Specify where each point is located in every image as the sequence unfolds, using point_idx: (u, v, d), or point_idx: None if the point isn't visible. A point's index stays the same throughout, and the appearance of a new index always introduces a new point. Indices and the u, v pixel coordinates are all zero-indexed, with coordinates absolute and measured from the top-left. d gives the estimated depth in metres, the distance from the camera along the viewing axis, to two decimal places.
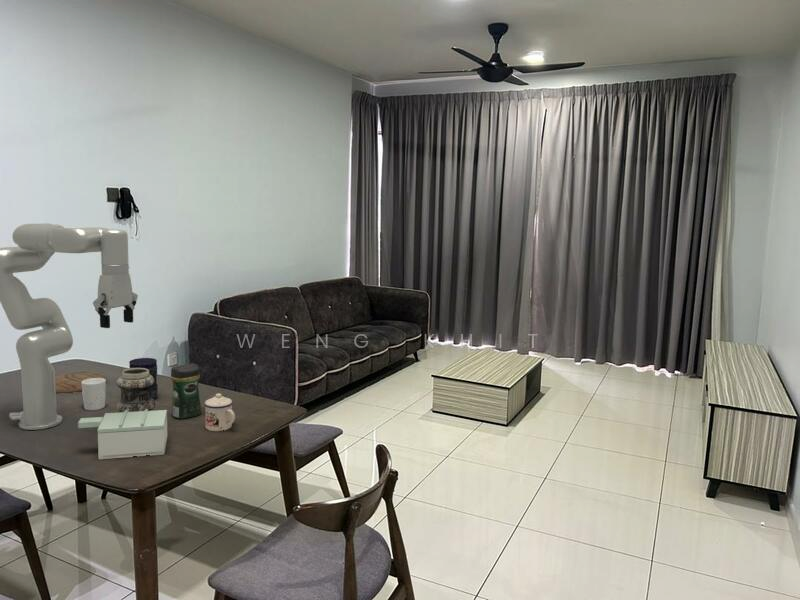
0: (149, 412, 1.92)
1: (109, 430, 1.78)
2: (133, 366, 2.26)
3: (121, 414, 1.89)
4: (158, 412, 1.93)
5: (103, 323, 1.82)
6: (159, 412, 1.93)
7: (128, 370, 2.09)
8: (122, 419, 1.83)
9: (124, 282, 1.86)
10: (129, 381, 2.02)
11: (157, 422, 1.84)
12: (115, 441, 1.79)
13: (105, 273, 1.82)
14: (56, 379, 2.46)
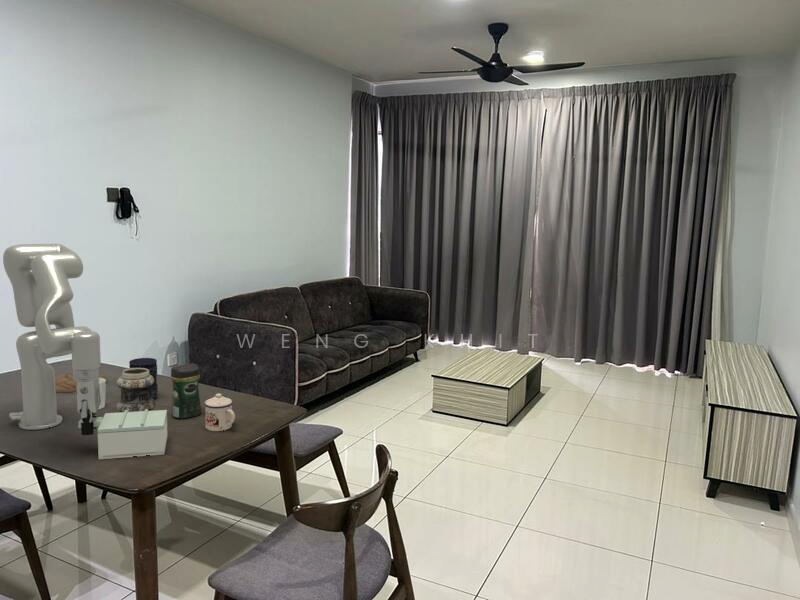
0: (149, 412, 1.92)
1: (109, 430, 1.78)
2: (133, 366, 2.26)
3: (121, 414, 1.89)
4: (158, 412, 1.93)
5: None
6: (159, 412, 1.93)
7: (128, 370, 2.09)
8: (122, 419, 1.83)
9: None
10: (129, 381, 2.02)
11: (157, 422, 1.84)
12: (115, 441, 1.79)
13: None
14: (56, 379, 2.46)
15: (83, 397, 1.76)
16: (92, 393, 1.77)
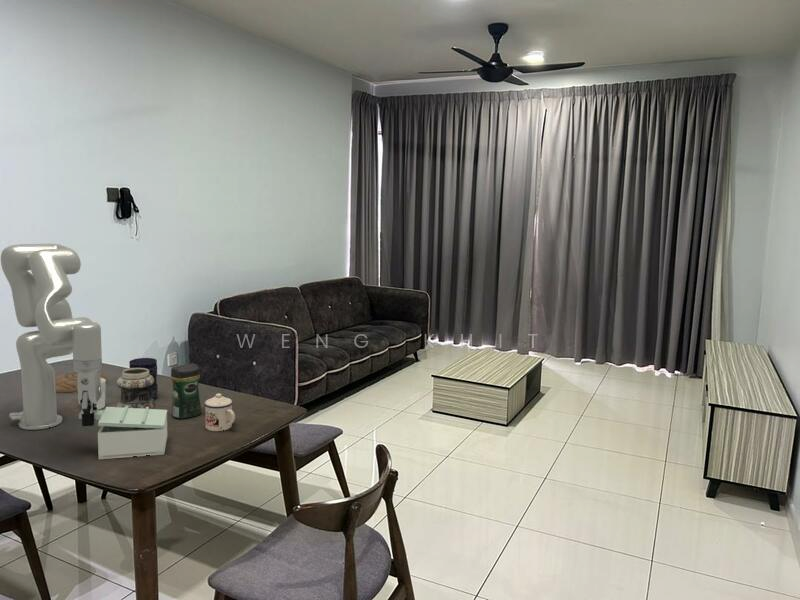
0: (150, 410, 1.92)
1: (110, 424, 1.77)
2: (133, 366, 2.26)
3: (122, 409, 1.89)
4: (158, 411, 1.93)
5: None
6: (159, 411, 1.93)
7: (128, 370, 2.09)
8: (123, 414, 1.83)
9: None
10: (129, 381, 2.02)
11: (158, 421, 1.84)
12: (115, 441, 1.79)
13: None
14: (56, 379, 2.46)
15: (84, 388, 1.76)
16: (93, 384, 1.76)
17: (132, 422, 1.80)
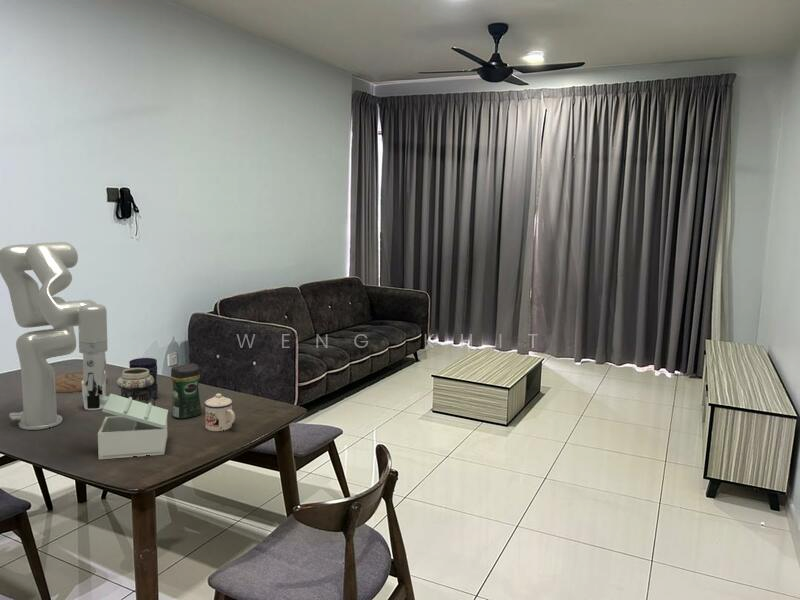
0: (151, 407, 1.92)
1: (113, 412, 1.77)
2: (133, 366, 2.26)
3: (125, 399, 1.89)
4: (160, 409, 1.93)
5: None
6: (161, 410, 1.93)
7: (128, 370, 2.09)
8: (127, 405, 1.83)
9: None
10: (129, 381, 2.02)
11: (159, 420, 1.84)
12: (115, 441, 1.79)
13: None
14: (56, 379, 2.46)
15: (89, 370, 1.75)
16: (98, 366, 1.76)
17: (135, 415, 1.80)
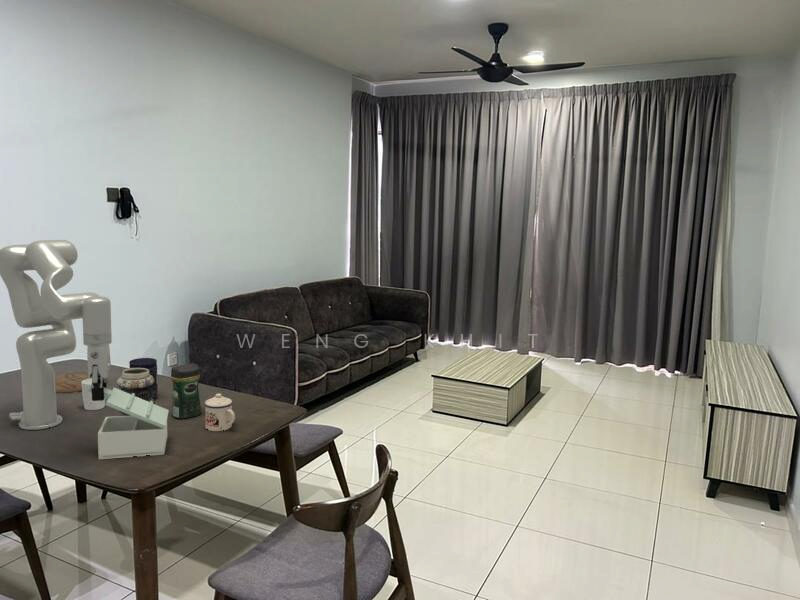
0: (153, 405, 1.92)
1: (116, 407, 1.77)
2: (133, 366, 2.26)
3: (128, 395, 1.89)
4: (161, 409, 1.93)
5: None
6: (161, 409, 1.93)
7: (128, 370, 2.09)
8: (130, 402, 1.83)
9: None
10: (129, 381, 2.02)
11: (160, 419, 1.84)
12: (115, 441, 1.79)
13: None
14: (56, 379, 2.46)
15: (94, 362, 1.75)
16: (103, 358, 1.76)
17: (137, 412, 1.80)
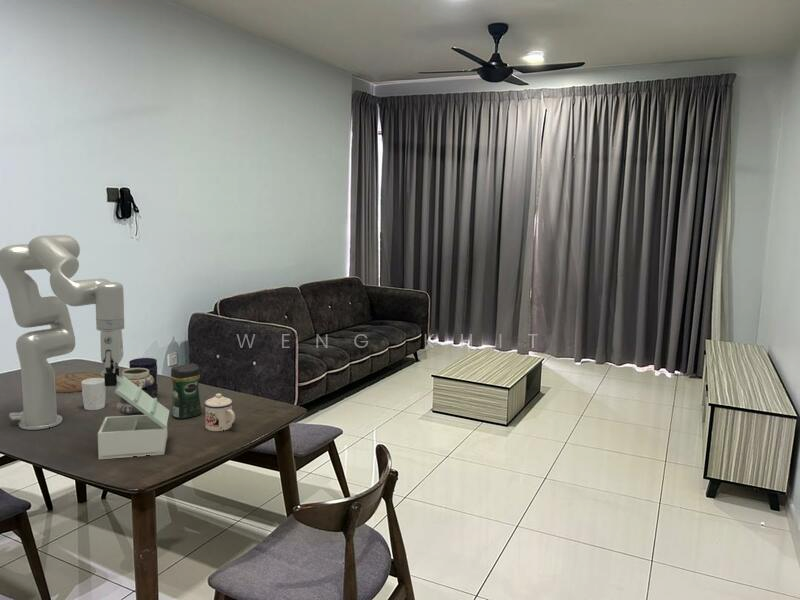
0: (156, 402, 1.92)
1: (124, 397, 1.77)
2: (133, 366, 2.26)
3: (135, 387, 1.89)
4: (163, 408, 1.93)
5: None
6: (163, 408, 1.93)
7: (128, 370, 2.09)
8: (137, 394, 1.83)
9: None
10: None
11: (162, 419, 1.84)
12: (115, 441, 1.79)
13: None
14: (56, 379, 2.46)
15: (107, 347, 1.76)
16: (116, 343, 1.76)
17: (142, 406, 1.81)
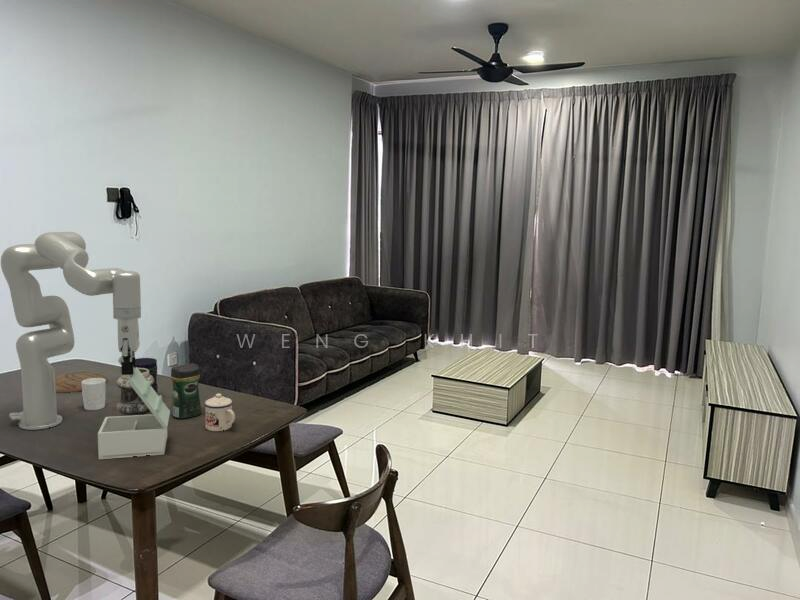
0: (160, 400, 1.93)
1: (136, 389, 1.78)
2: None
3: (145, 380, 1.90)
4: (165, 407, 1.93)
5: None
6: (165, 408, 1.93)
7: None
8: (147, 389, 1.84)
9: None
10: None
11: (164, 418, 1.85)
12: (115, 441, 1.79)
13: None
14: (56, 379, 2.46)
15: (124, 335, 1.77)
16: (133, 332, 1.77)
17: (149, 402, 1.81)
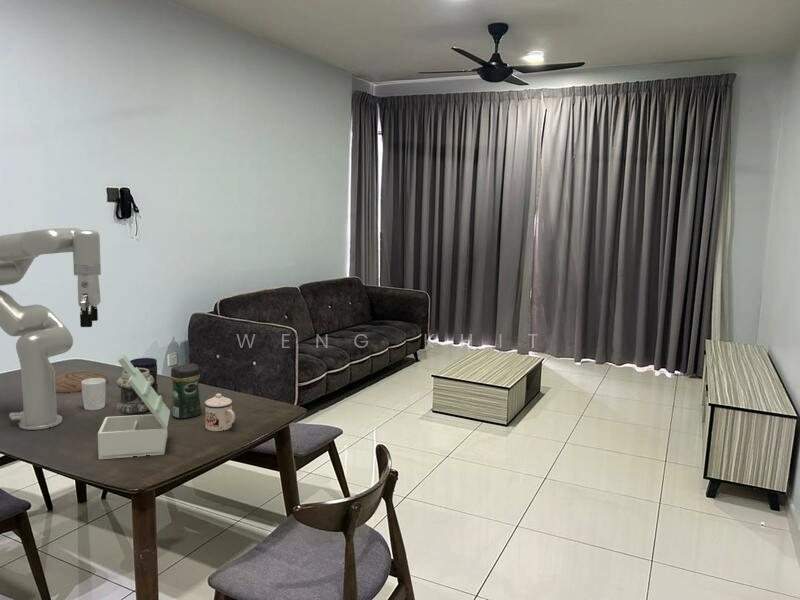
0: (160, 400, 1.93)
1: (136, 389, 1.78)
2: None
3: (145, 380, 1.90)
4: (165, 407, 1.93)
5: None
6: (165, 408, 1.93)
7: None
8: (147, 389, 1.84)
9: None
10: None
11: (164, 418, 1.85)
12: (115, 441, 1.79)
13: None
14: (56, 379, 2.46)
15: (84, 291, 1.85)
16: (92, 287, 1.86)
17: (149, 402, 1.81)
